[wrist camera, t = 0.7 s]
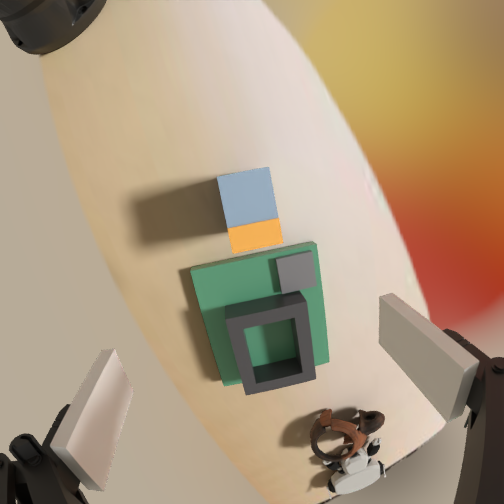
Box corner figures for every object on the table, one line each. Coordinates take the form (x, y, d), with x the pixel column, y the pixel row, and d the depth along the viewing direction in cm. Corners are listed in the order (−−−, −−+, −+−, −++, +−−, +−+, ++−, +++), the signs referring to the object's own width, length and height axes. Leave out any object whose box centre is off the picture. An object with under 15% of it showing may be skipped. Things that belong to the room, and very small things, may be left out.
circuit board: (191, 267, 34) (186, 281, 29) (312, 241, 34) (326, 251, 29) (223, 379, 38) (224, 403, 33) (326, 356, 38) (338, 377, 33)
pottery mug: (333, 445, 44) (324, 473, 37) (306, 408, 46) (293, 434, 39) (393, 417, 40) (393, 445, 33) (367, 377, 42) (364, 402, 35)
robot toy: (315, 450, 45) (326, 487, 47) (321, 467, 40) (331, 502, 43) (377, 426, 45) (379, 466, 48) (387, 440, 41) (387, 480, 43)
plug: (218, 177, 32) (216, 176, 22) (254, 170, 32) (269, 166, 22) (229, 231, 33) (232, 253, 23) (265, 224, 33) (283, 243, 24)
